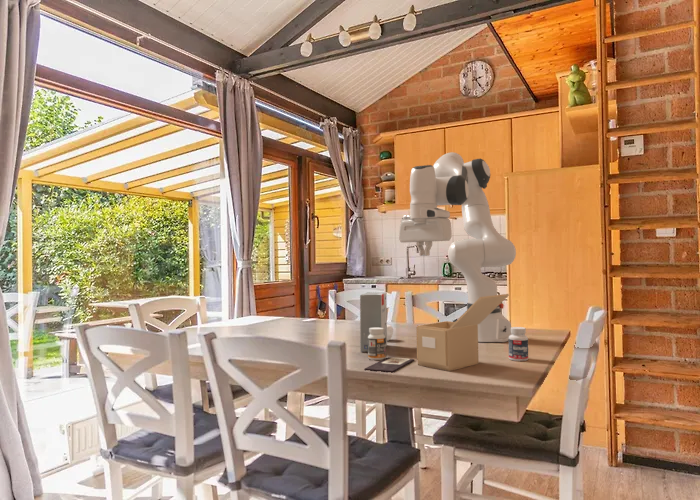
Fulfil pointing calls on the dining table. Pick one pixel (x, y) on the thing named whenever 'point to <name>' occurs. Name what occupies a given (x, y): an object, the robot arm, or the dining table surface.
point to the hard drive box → (372, 316)
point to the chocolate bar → (390, 364)
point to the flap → (479, 310)
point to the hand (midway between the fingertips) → (424, 255)
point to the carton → (447, 346)
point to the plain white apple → (389, 332)
